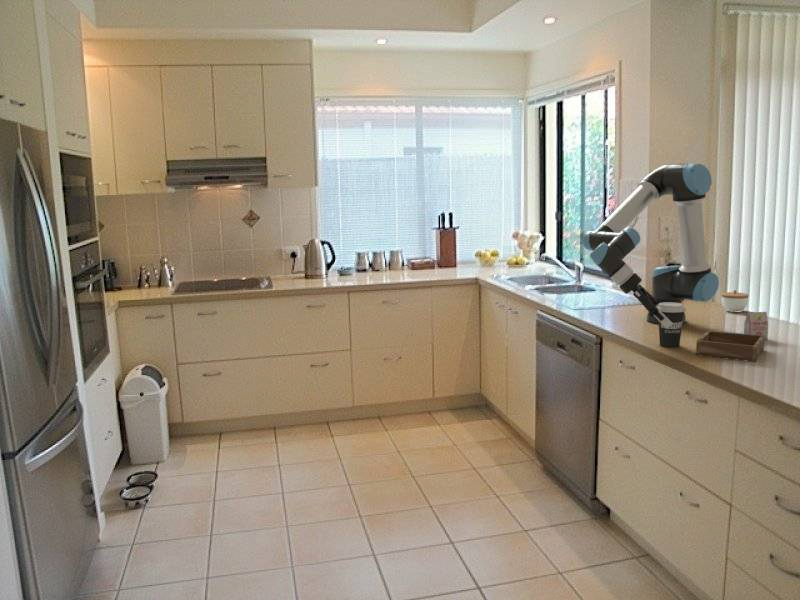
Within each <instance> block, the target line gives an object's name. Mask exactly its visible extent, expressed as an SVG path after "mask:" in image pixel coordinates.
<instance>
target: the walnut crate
mask: <svg viewBox="0 0 800 600" xmlns="http://www.w3.org/2000/svg"><path fill="white" fill-rule="evenodd" d="M764 339H765V336H761V335H750V334H744V333H739V332H738V333H737V332H727V331H726V332H725V331H714V330H707V331H706V332H705V333H704V334H702V335H701V336H700V337H699V338H698V339H697V340H696V346H695V355H696V356H698V355H702V356H701V357H707V356H712V357H711V358H716V357H720V358H719V359H725V358H728V359H727V360H734V359H738V360H737V361H743V360H747V361H746V362H752V361H755V362H754V363H756V362H757V361H756V360H758V359H759V358H760V356H761V355H762V354H763V352H764V351H763V350H765V340H764ZM758 357H759V358H758Z"/></svg>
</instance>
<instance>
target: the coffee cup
mask: <svg viewBox="0 0 800 600" xmlns="http://www.w3.org/2000/svg"><path fill="white" fill-rule="evenodd" d="M657 309H658V310H660V311H661V312H662V313H663V314H664V315H665V316H666V317H667V318H668V319H669V320H670V321H671V322H672V323H673V324H672V325H671V326H670V327H669V328H667V329H666V328H665V327H664V326H663V325H662V324H661V323H660V322H659V324H658V335H659V346H661V347H663V348H670V349H671V348H675V349H676V348H679V347H680V343H681V336H682V329H683V323H682V322H683V315H684V312H686V307H685V306H684V304H683V303H682V304H681V303H675V302H663V303H659V306H658V307H657Z"/></svg>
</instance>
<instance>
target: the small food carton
mask: <svg viewBox="0 0 800 600" xmlns="http://www.w3.org/2000/svg"><path fill="white" fill-rule="evenodd" d="M743 325H744V327H743V334H750V335H761V336H765V339H764V341H767V340H768V335H769V320H768V312H767V311H752V312H751V311H749V312H747V313H746V317H745V320H744V323H743Z"/></svg>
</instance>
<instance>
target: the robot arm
mask: <svg viewBox="0 0 800 600" xmlns="http://www.w3.org/2000/svg"><path fill="white" fill-rule="evenodd" d="M712 181H713V179H712V174H711V172H710V170H709V169H708V167H706V166H705V165H704V164H702V163H693V162H690V163H674V164H665V165H661V166H660V167H659V166H658V167H657V168H656V169H654V170H653V171H651V172H649V173H648V174H647V175H646V176H645V177H643V178H642V179H641V180H640V181H639V183H638V184H637V186H636V189H635V190H634V191H633V192H632V193H631V194H630V195H629V196H628V197H627V198H626V199H625V200H624V201H623V202H622V204H620V205H619V206H618V207H617V208H615V209H616V210H614V211H613V212H612V213H611V214H610V216H608V218H607V219H605V220H604V221H603V222H602V223H601V225H599V226H598V227H597V228H596V229H595V230H588V231H586V232H585V233H584V235H583V237H582V245H583V247H584V248H585V249H586V250H589V251H591V252H590V253H589V257H590V259H591V260H592V262H593V263H594V264H595V265H596V266H597V267H598V268H599V269H600V270H601V271H602V272H603V273H604V274H605V275H607V277H609V278H610V281H611V283H614V284H615V285H616V286H619V288H620V290H621V291H622V292H623V293H624V294H627V295H628V294H629V293H631V292H633V293H632V294H633V296H634V297H635V298H636V299H637V300H638V301H639V303H640V304H641V305H642V306H643V307H644V308H645V309H646V310H647V314H646V321H647V322H649V323H653V324H658V325H659V322H660V323H661V324H662V325H663V326H664V327H665V328H666V329H667V328H669V327H670V326H671V325H672V324H673V323H672V322H671V321H670V320H669V319H668V318H667V317H666V316H665V315H664V314H663V313H662V312H661V311H660V310H658V309H657V307H658V306H659V303H663V302H675V303H681V304H683V300H686V301H687V300H688V301H694V302H698V303H699V302H701V303H702V302H704V303H705V302H708V301H711V300H712V299H713V298H714V297H715V295H716V294H717V292H718V290H719V287H720V281H719V280H720V279H719V277H718V276H717V274H716V273H714V272H712V266H711V264H709V262H708V263H707V255H706V241H705V240H706V239H705V229H704V214H703V201H704V200H705V199H706V194H707V193H709V191H710V189H711V187H712ZM666 195H671V196H672V202H673V203H675V204H676V205H677V212H678V214H677V215H678V225H679V236H680V237H679V238H680V249H681V259H682V260H681V261H682V262H681V263H682V264H681V265H666V266H658V267H655V268H654V269H653V271H652V277H651V278H652V284H651V285H652V286H651V289H652V290H651V291H652V292H651V293H649V291H647V290H646V288H645V287H643V286H642V285H641V282H642V278H641V277H640V276H639V275H638V274H637V273H635V272H634V270H633V269H632V268H631V266H629V265H628V263H626V262H625V261H624V260H623V259H625V257H627V256H628V255H629V254H630V253H631V252H632V251H633V250H635V249H636V247H637V245H638V244H640V242H641V236H640V233H639V232H638V231H637V230H636V229H635V228H633V227H631V226H630V227H628V226H629V225H630V224H631V223H632V222H633V221H634V220H635V219H636V218H637V217H638V216H639V215H640V214H641V213H642V212H643V211H644V210H646V208H648V206H649V205H650V204H651V203H652V202H657V200H659V198H661V197H662V196H666ZM685 312H686V311H684V315H683V322H682V324H685V323H686V321H687V316H686V313H685Z"/></svg>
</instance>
